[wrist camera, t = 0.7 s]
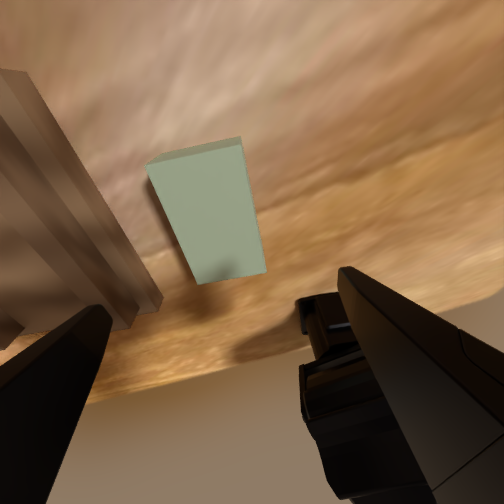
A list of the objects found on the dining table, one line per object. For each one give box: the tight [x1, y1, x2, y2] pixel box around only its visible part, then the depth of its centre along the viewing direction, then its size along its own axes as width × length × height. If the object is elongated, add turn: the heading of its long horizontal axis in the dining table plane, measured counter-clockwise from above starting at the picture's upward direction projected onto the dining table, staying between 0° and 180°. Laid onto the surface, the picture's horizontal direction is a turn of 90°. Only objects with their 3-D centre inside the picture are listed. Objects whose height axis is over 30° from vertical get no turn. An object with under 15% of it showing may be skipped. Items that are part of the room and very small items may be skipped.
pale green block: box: [144, 136, 267, 285], centre depth 18 cm, size 10×6×4 cm, turn 11°
